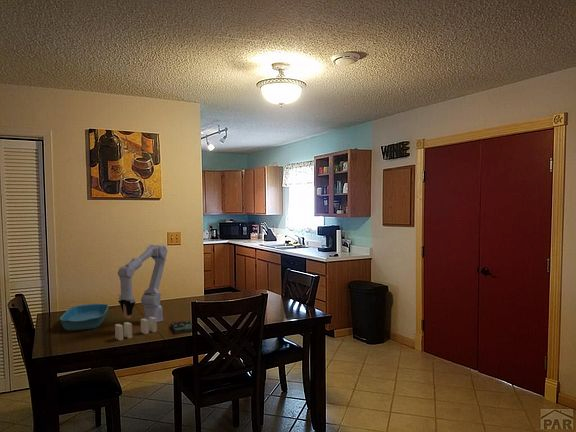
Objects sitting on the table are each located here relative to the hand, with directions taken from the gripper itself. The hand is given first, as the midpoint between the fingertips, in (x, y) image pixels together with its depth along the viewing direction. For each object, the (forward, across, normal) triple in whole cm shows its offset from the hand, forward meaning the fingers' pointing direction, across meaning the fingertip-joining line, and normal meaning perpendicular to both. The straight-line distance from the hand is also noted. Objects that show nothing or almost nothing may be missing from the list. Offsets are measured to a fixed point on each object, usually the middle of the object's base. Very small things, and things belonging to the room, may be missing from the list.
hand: (127, 313), depth 221 cm
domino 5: (+9, +11, +9) cm, 17 cm away
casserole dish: (+9, -32, -10) cm, 35 cm away
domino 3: (+9, +11, -4) cm, 15 cm away
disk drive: (+10, +20, +21) cm, 31 cm away
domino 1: (+9, +11, -9) cm, 17 cm away
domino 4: (+9, +11, +4) cm, 15 cm away
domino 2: (+2, 0, 0) cm, 2 cm away
